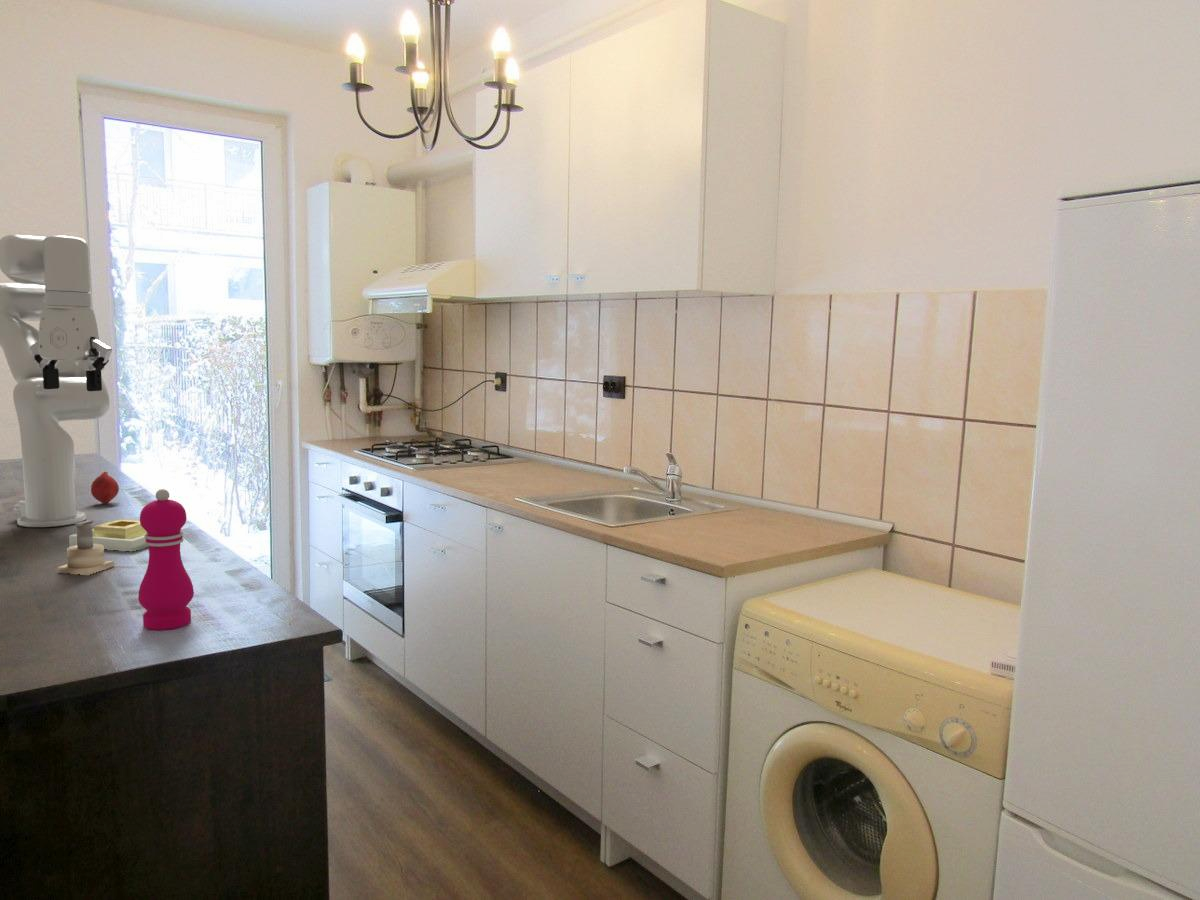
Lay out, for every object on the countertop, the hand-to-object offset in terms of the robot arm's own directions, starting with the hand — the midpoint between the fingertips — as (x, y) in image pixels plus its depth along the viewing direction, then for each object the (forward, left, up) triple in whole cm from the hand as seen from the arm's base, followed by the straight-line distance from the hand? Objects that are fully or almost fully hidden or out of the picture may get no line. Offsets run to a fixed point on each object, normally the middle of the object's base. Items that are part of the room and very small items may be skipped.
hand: (72, 389), depth 165 cm
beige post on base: (+17, -17, -30) cm, 39 cm away
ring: (+9, +1, -30) cm, 31 cm away
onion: (-22, +32, -31) cm, 49 cm away
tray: (+9, +2, -30) cm, 32 cm away
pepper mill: (+49, -38, -31) cm, 69 cm away
